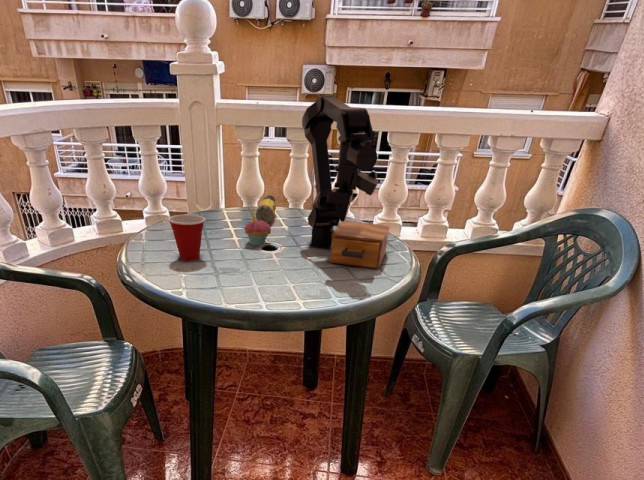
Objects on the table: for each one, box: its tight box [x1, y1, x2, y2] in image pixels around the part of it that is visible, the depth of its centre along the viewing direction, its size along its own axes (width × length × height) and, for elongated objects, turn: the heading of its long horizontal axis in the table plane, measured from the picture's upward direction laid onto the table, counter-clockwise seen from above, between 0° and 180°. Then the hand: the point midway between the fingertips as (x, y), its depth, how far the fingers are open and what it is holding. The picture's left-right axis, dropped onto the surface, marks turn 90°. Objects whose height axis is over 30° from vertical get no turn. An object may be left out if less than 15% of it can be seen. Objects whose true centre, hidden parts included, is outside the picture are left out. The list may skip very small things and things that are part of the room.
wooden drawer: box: [331, 237, 380, 267], centre depth 144 cm, size 17×13×7 cm
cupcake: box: [244, 205, 272, 246], centre depth 156 cm, size 9×8×12 cm
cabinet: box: [329, 220, 391, 270], centre depth 147 cm, size 14×15×9 cm
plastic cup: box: [167, 214, 206, 262], centre depth 145 cm, size 11×11×12 cm
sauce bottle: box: [255, 195, 277, 224], centre depth 180 cm, size 6×6×20 cm
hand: (342, 220), depth 141 cm, fingers closed
